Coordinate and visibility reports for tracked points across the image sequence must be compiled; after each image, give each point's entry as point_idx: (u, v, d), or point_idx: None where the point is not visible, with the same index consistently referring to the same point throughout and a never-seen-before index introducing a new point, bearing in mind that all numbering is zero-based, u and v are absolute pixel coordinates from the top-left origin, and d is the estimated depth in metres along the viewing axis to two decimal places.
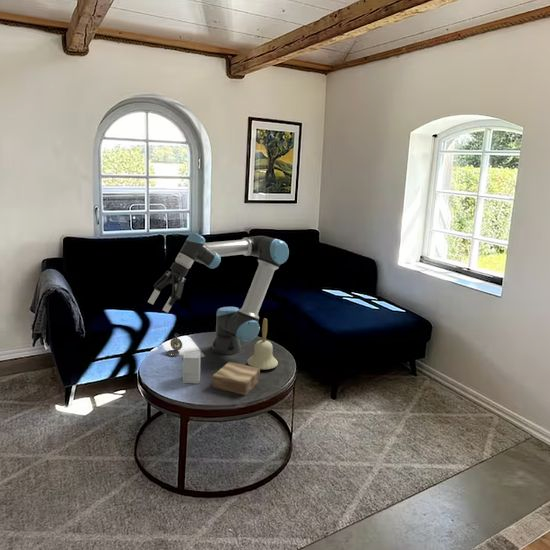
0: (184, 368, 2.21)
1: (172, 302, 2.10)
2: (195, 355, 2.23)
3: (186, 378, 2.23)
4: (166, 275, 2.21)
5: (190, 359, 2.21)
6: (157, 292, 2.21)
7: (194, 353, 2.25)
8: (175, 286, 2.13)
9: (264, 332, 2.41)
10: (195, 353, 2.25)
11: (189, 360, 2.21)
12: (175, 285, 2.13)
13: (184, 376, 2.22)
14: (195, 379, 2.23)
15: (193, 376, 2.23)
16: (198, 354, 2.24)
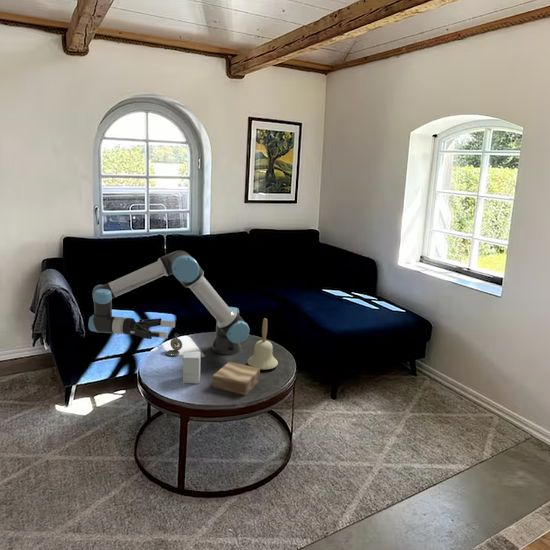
0: (184, 368, 2.21)
1: (155, 335, 2.13)
2: (195, 355, 2.23)
3: (186, 378, 2.23)
4: (143, 323, 2.28)
5: (190, 359, 2.21)
6: (162, 323, 2.28)
7: (194, 353, 2.25)
8: None
9: (264, 332, 2.41)
10: (195, 353, 2.25)
11: (189, 360, 2.21)
12: None
13: (184, 376, 2.22)
14: (195, 379, 2.23)
15: (193, 376, 2.23)
16: (198, 354, 2.24)
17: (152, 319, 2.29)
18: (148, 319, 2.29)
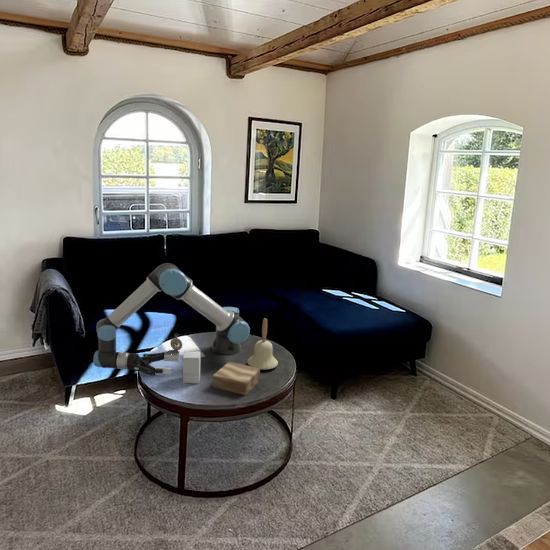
0: (184, 368, 2.21)
1: (158, 371, 2.17)
2: (195, 355, 2.23)
3: (186, 378, 2.23)
4: (147, 358, 2.32)
5: (190, 359, 2.21)
6: (165, 357, 2.32)
7: (194, 353, 2.25)
8: None
9: (264, 332, 2.41)
10: (195, 353, 2.25)
11: (189, 360, 2.21)
12: None
13: (184, 376, 2.22)
14: (195, 379, 2.23)
15: (193, 376, 2.23)
16: (198, 354, 2.24)
17: (156, 353, 2.33)
18: None
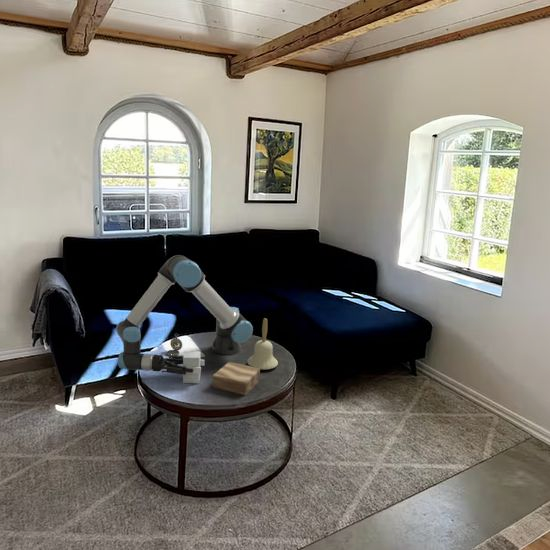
0: None
1: (189, 371, 2.20)
2: (195, 355, 2.23)
3: (186, 378, 2.23)
4: (172, 360, 2.31)
5: (190, 359, 2.21)
6: None
7: (194, 353, 2.25)
8: None
9: (264, 332, 2.41)
10: (195, 353, 2.25)
11: (189, 360, 2.21)
12: None
13: (184, 376, 2.22)
14: (195, 379, 2.23)
15: (193, 376, 2.22)
16: (198, 354, 2.24)
17: (181, 356, 2.31)
18: (177, 356, 2.31)
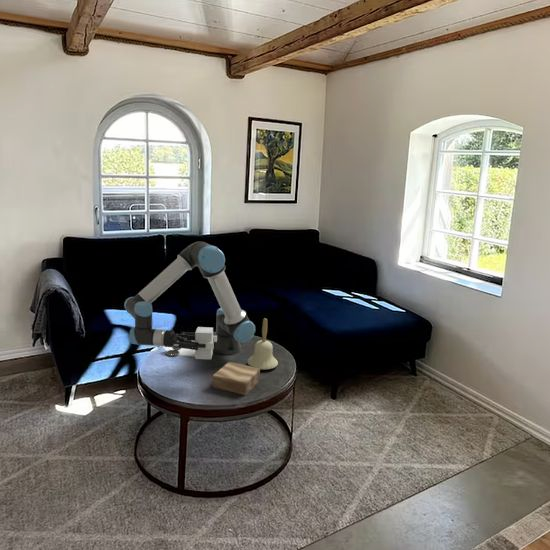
0: None
1: (201, 346, 2.15)
2: (207, 331, 2.18)
3: (198, 354, 2.18)
4: None
5: (203, 334, 2.16)
6: None
7: (206, 328, 2.21)
8: None
9: (264, 332, 2.41)
10: (207, 329, 2.20)
11: (201, 335, 2.16)
12: None
13: (197, 352, 2.18)
14: (207, 355, 2.18)
15: (205, 352, 2.18)
16: (211, 329, 2.20)
17: (193, 332, 2.27)
18: (189, 332, 2.27)
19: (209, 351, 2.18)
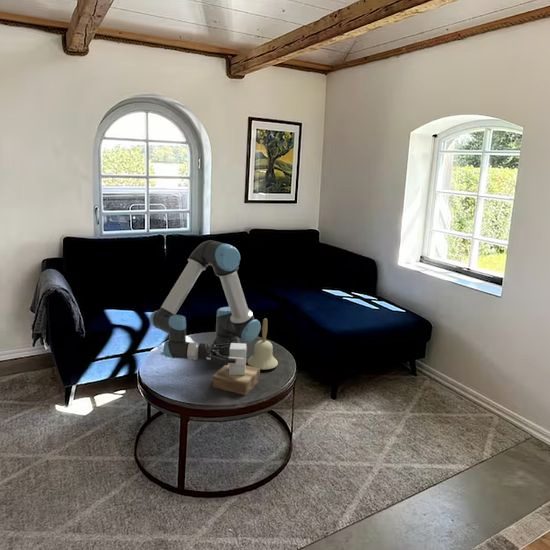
0: None
1: (232, 361, 2.14)
2: (241, 347, 2.20)
3: (232, 370, 2.20)
4: None
5: (237, 350, 2.18)
6: None
7: (240, 344, 2.22)
8: None
9: (264, 332, 2.41)
10: (241, 345, 2.22)
11: (236, 351, 2.18)
12: None
13: (230, 368, 2.20)
14: (241, 371, 2.20)
15: (239, 368, 2.20)
16: (244, 346, 2.21)
17: (224, 344, 2.30)
18: (220, 344, 2.29)
19: (243, 367, 2.20)
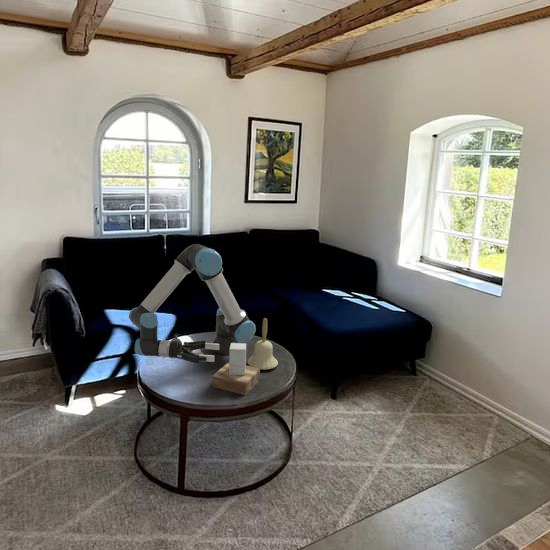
0: (230, 360, 2.19)
1: (202, 359, 2.15)
2: (241, 347, 2.20)
3: (232, 370, 2.20)
4: None
5: (237, 350, 2.18)
6: (206, 345, 2.29)
7: (240, 344, 2.22)
8: None
9: (264, 332, 2.41)
10: (241, 345, 2.22)
11: (236, 351, 2.18)
12: None
13: (230, 368, 2.20)
14: (241, 371, 2.20)
15: (239, 368, 2.20)
16: (244, 346, 2.21)
17: (196, 341, 2.30)
18: (192, 342, 2.30)
19: (243, 367, 2.20)
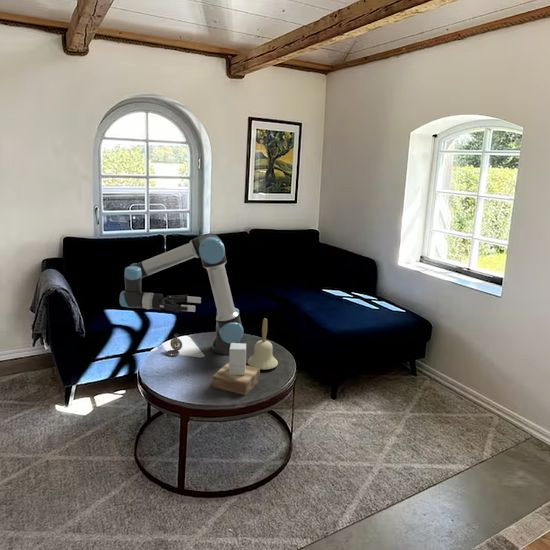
0: (230, 360, 2.19)
1: (183, 309, 2.25)
2: (241, 347, 2.20)
3: (232, 370, 2.20)
4: None
5: (237, 350, 2.18)
6: (188, 299, 2.39)
7: (240, 344, 2.22)
8: None
9: (264, 332, 2.41)
10: (241, 345, 2.22)
11: (236, 351, 2.18)
12: None
13: (230, 368, 2.20)
14: (241, 371, 2.20)
15: (239, 368, 2.20)
16: (244, 346, 2.21)
17: (179, 295, 2.40)
18: (175, 295, 2.40)
19: (243, 367, 2.20)
